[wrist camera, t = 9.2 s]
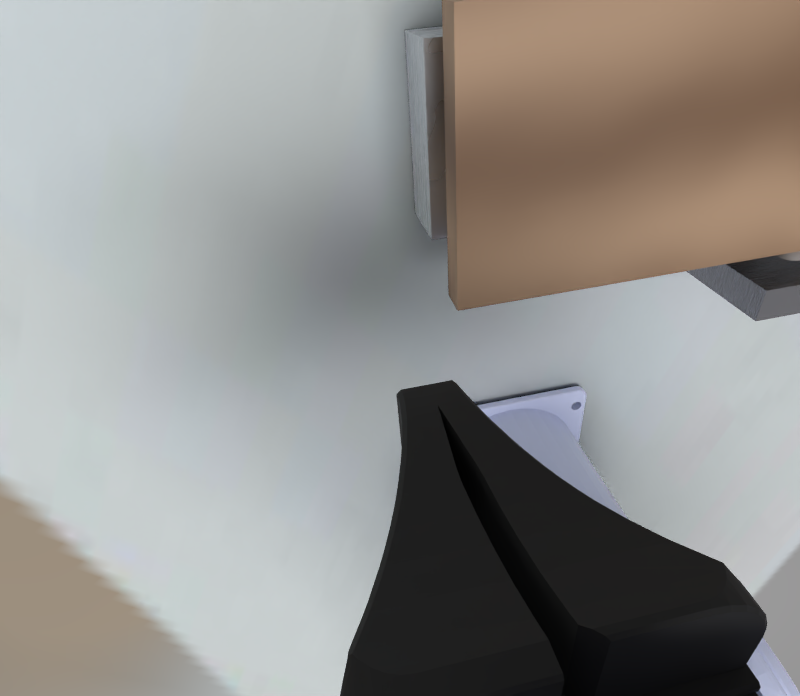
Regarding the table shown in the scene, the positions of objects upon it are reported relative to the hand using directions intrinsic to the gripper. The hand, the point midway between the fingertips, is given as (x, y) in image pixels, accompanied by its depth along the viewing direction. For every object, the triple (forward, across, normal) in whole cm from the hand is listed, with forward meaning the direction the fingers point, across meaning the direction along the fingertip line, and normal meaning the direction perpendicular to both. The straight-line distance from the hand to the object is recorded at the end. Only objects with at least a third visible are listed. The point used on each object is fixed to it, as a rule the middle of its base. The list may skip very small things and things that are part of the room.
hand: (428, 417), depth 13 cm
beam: (+5, -14, -4) cm, 15 cm away
